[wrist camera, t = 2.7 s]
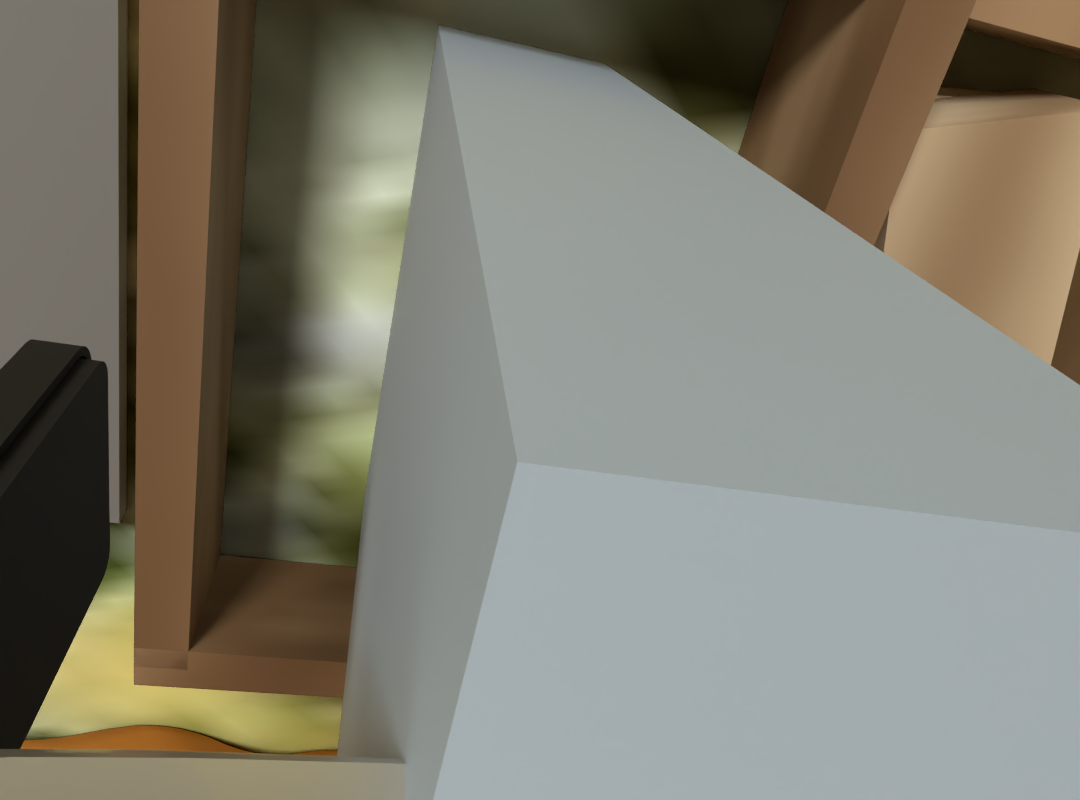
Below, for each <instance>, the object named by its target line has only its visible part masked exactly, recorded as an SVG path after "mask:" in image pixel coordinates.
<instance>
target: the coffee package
mask: <svg viewBox="0 0 1080 800" xmlns="http://www.w3.org/2000/svg"><path fill="white" fill-rule="evenodd" d="M20 749H137V750H168V751H200V752H231V753H252V752H248V751H244V750H240V749H237V748H234V747H231V746H229V745H226V744H224V743H221V742H219V741H216V740H214V739H212V738H209V737H207V736H204V735H201V734H198V733H195V732H190V731H187V730H183V729H179V728H174V727H166V726H149V725H143V726H128V727H120V728H112V729H105V730H99V731H94V732H89V733H83V734H78V735H72V736H66V737H59V738H50V739H38V740H24V742H23V744H22V746H21V748H20ZM337 752H338V750H327V751H311V752H303V753H295V754H290V755H319V756H337Z"/></svg>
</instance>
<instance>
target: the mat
mask: <svg viewBox="0 0 1080 800" xmlns="http://www.w3.org/2000/svg"><path fill="white" fill-rule="evenodd" d="M127 104H128V0H0V369H1V368H2V367H3V366H4V365H5V364H6V363H7V362H8V361H9V360H10V359H11V358H12V357H13V356H14V355H15V353H16V352H17V351H18V350H19V349H20V348H21V347H22V346H23V345H24V344H25V343H26V342H27V341H29V340H30V339H34V340H42V341H49V342H56V343H64V344H71V345H78V346H86V347H87V348H88V349H89V351H90V354H91V359H92V360H97V361H104V362H105V363H106V365H107V369H108V420H109V513H110V523H120V521H121V519H122V518H123V516H124V514H125V512H126V510H127Z"/></svg>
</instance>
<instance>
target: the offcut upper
mask: <svg viewBox="0 0 1080 800" xmlns="http://www.w3.org/2000/svg"><path fill="white" fill-rule="evenodd" d="M874 246H875V247H876V248H878V249H879V250H881V251H882V252H884V253H885V254H886V255H888V256H889V257H891V258H892V259H894V260H895V261H897V262H898V263H900V264H901V265H903V266H904V267H906V268H907V269H909V270H910V271H912V272H913V273H915V274H916V275H918V276H919V277H921V278H922V279H923V280H925V281H926V282H928V283H929V284H931V285H932V286H934V287H935V288H937V289H938V290H940V291H941V292H943V293H944V294H946V295H947V296H949V297H950V298H952V299H953V300H955V301H956V302H958V303H959V304H960V305H962V306H963V307H965V308H966V309H968V310H969V311H971V312H972V313H974V314H975V315H977V316H978V317H980V318H981V319H983V320H984V321H986V322H987V323H989V324H990V325H992V326H993V327H995V328H996V329H997V330H999V331H1000V332H1002V333H1003V334H1005V335H1006V336H1008V337H1009V338H1011V339H1012V340H1014V341H1015V342H1017V343H1018V344H1020V345H1021V346H1023V347H1024V348H1026V349H1027V350H1029V351H1030V352H1032V353H1033V354H1034V355H1036V356H1037V357H1039V358H1040V359H1042V360H1043V361H1045V362H1046V363H1048V364H1049V365H1051V362H1052V358H1053V354H1054V350H1055V346H1056V342H1057V338H1058V334H1059V330H1060V326H1061V322H1062V318H1063V314H1064V310H1065V306H1066V302H1067V298H1068V294H1069V290H1070V286H1071V282H1072V278H1073V274H1074V269H1075V265H1076V261H1077V257H1078V253H1079V249H1080V100H1079V99H1075V98H1071V97H1067V96H1063V95H1059V94H1054V93H1050V92H1046V91H1042V90H1038V89H1024V90H1015V91H1005V92H996V93H986V94H976V95H967V96H957V97H948V98H939V99H935V101H934V103H933V105H932V108H931V110H930V113H929V115H928V117H927V120H926V122H925V125H924V127H923V129H922V132H921V134H920V137H919V139H918V141H917V144H916V146H915V149H914V151H913V153H912V156H911V158H910V161H909V163H908V165H907V168H906V170H905V172H904V175H903V177H902V180H901V182H900V184H899V187H898V189H897V192H896V194H895V196H894V199H893V201H892V204H891V206H890V208H889V211H888V213H887V216H886V218H885V220H884V223H883V225H882V228H881V230H880V232H879V235H878V237H877V239H876V242H875V244H874Z"/></svg>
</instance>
